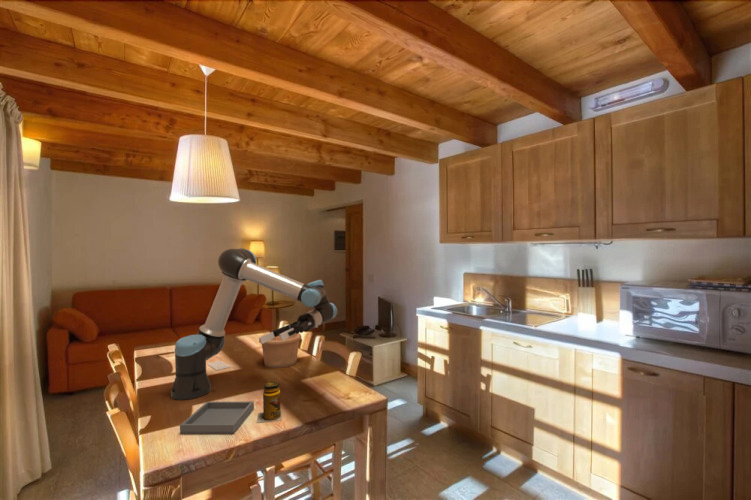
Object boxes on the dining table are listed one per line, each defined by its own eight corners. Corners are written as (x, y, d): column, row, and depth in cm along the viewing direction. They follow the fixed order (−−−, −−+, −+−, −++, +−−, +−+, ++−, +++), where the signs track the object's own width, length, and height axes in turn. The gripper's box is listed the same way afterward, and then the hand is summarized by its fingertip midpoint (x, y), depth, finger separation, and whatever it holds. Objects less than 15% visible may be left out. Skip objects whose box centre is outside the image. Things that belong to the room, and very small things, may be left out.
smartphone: (220, 360, 194) (230, 366, 183) (220, 361, 194) (230, 368, 183) (206, 363, 189) (216, 370, 178) (206, 365, 189) (216, 371, 178)
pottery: (298, 354, 204) (297, 329, 204) (304, 366, 183) (304, 338, 183) (258, 359, 196) (258, 333, 196) (260, 372, 175) (260, 343, 175)
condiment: (281, 420, 126) (280, 386, 125) (256, 423, 124) (255, 389, 124) (282, 411, 133) (281, 379, 133) (258, 413, 131) (257, 381, 131)
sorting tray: (179, 434, 117) (179, 425, 117) (207, 409, 135) (207, 401, 135) (233, 434, 116) (233, 425, 116) (253, 409, 134) (253, 401, 134)
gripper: (331, 325, 148) (293, 345, 131) (294, 331, 163) (255, 350, 146) (326, 308, 148) (287, 326, 131) (289, 316, 163) (250, 333, 146)
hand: (270, 339), depth 139 cm, fingers open, 13 cm apart
